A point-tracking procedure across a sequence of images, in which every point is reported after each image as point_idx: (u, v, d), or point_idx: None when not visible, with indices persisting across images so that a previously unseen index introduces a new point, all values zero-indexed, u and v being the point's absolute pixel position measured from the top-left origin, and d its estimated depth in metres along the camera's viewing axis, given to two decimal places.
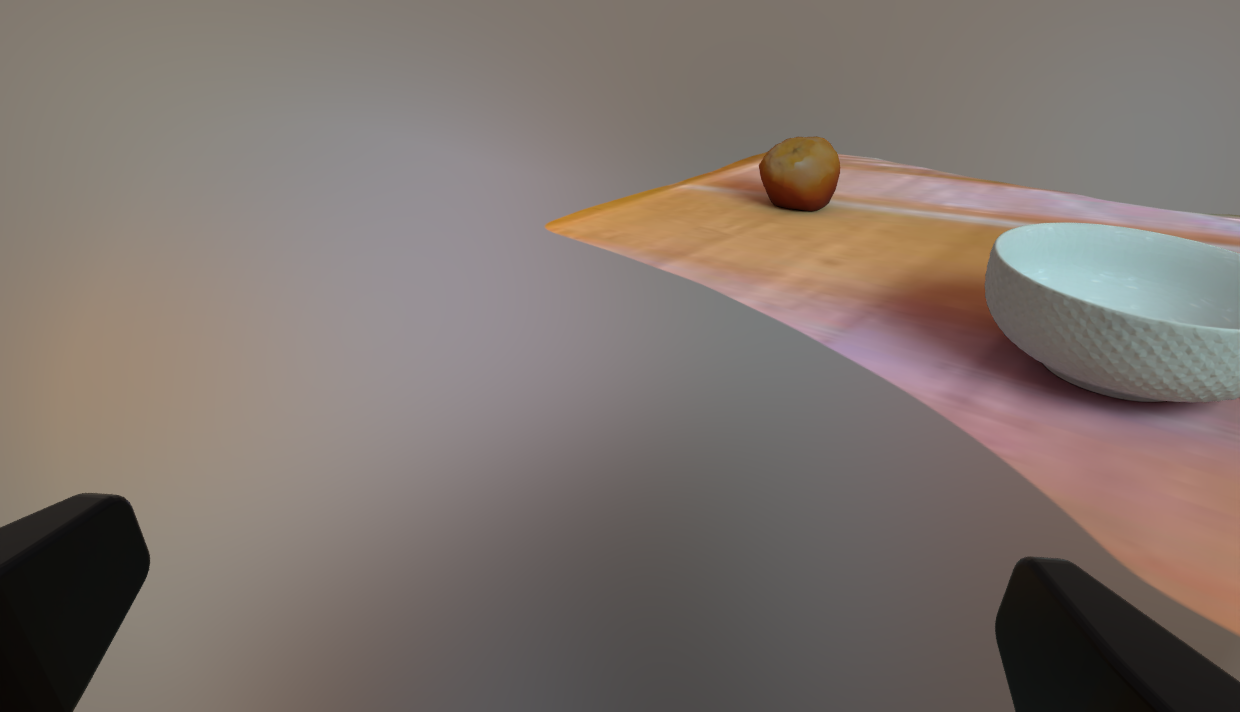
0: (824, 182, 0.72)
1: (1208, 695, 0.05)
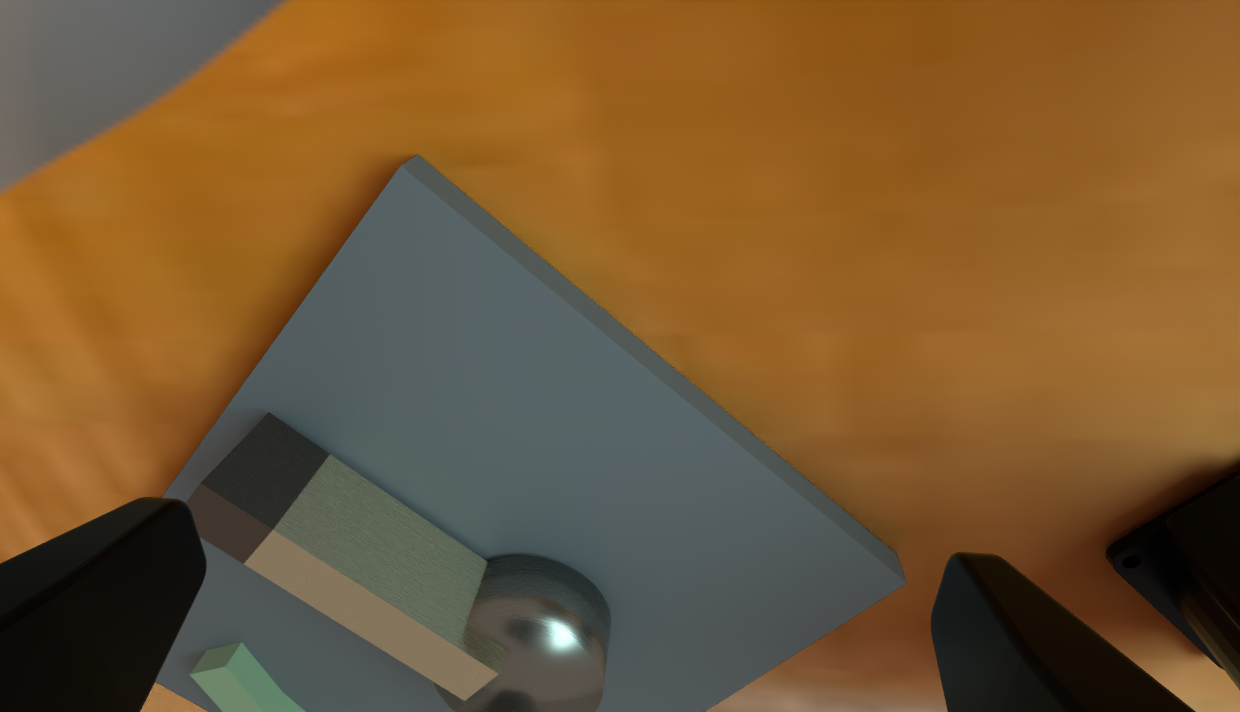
0: None
1: (1116, 688, 0.05)
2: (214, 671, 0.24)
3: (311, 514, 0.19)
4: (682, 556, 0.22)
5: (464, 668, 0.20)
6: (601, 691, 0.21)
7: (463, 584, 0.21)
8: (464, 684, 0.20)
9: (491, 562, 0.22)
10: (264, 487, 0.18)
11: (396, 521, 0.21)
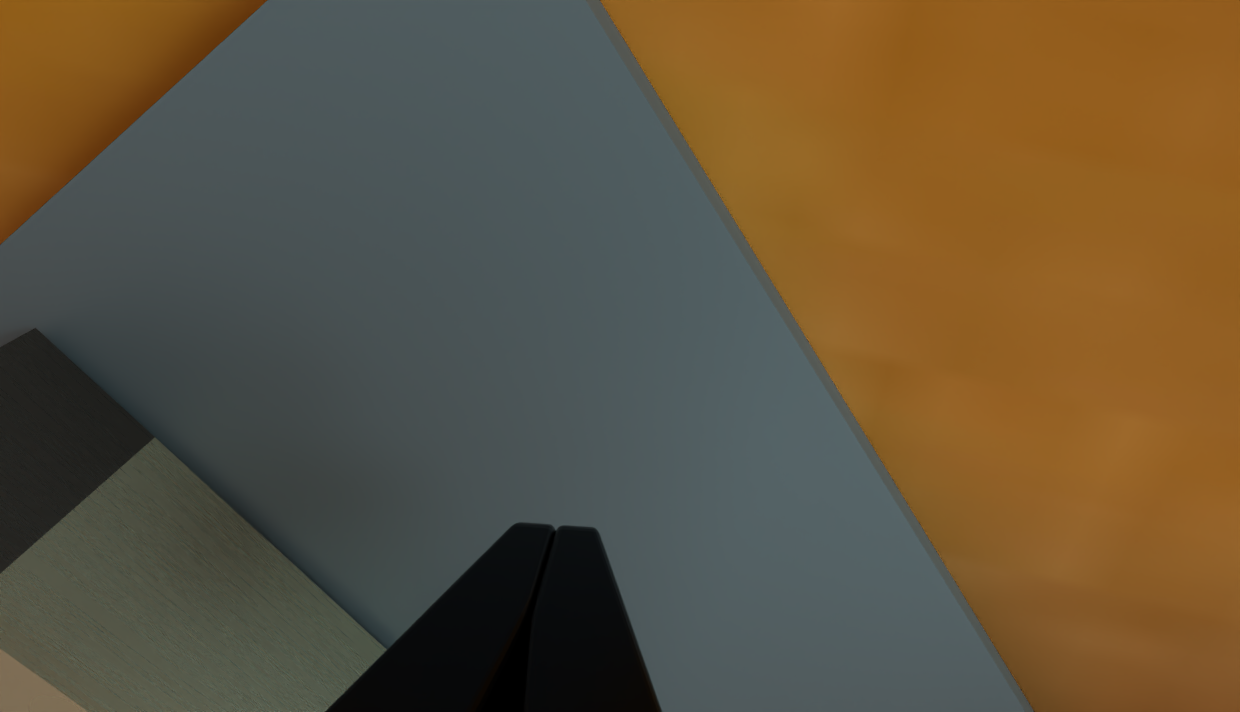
0: None
1: (587, 647, 0.05)
2: None
3: (72, 575, 0.08)
4: None
5: None
6: None
7: None
8: None
9: None
10: None
11: (263, 593, 0.10)
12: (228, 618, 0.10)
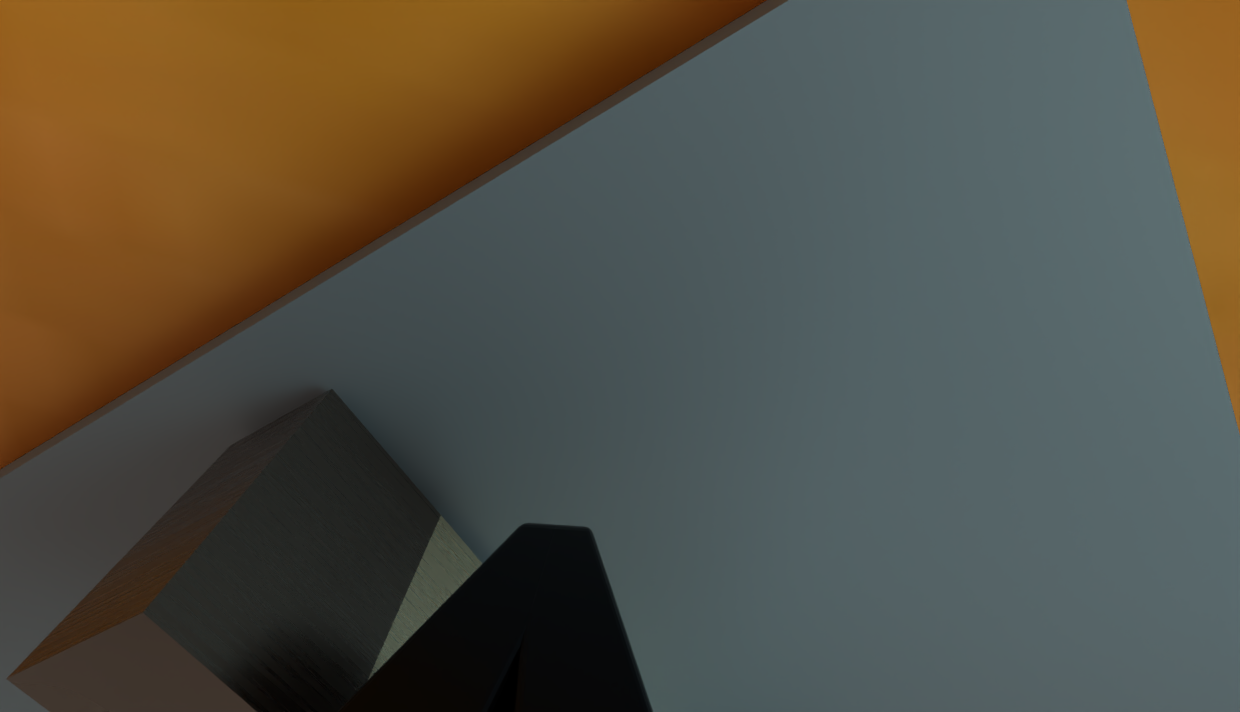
0: None
1: (578, 647, 0.05)
2: None
3: None
4: None
5: None
6: None
7: None
8: None
9: None
10: (312, 618, 0.06)
11: None
12: None
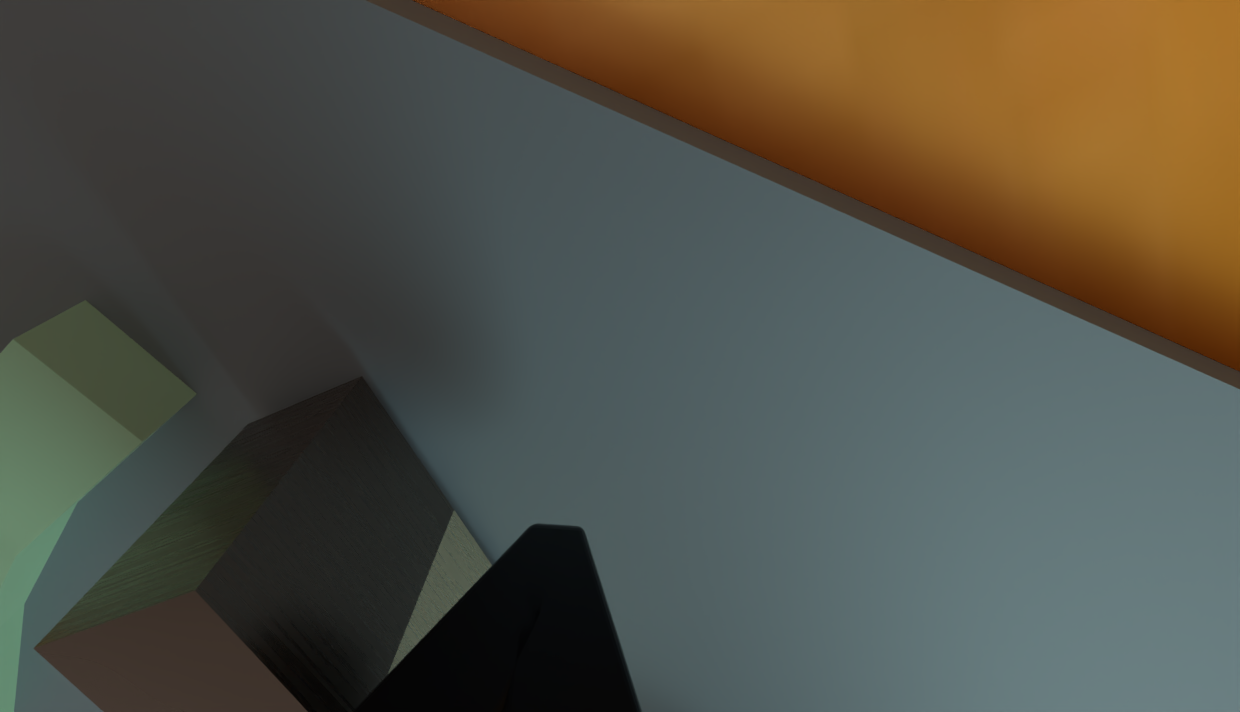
0: None
1: (568, 646, 0.05)
2: (95, 413, 0.07)
3: None
4: None
5: None
6: None
7: None
8: None
9: None
10: (342, 604, 0.06)
11: None
12: None
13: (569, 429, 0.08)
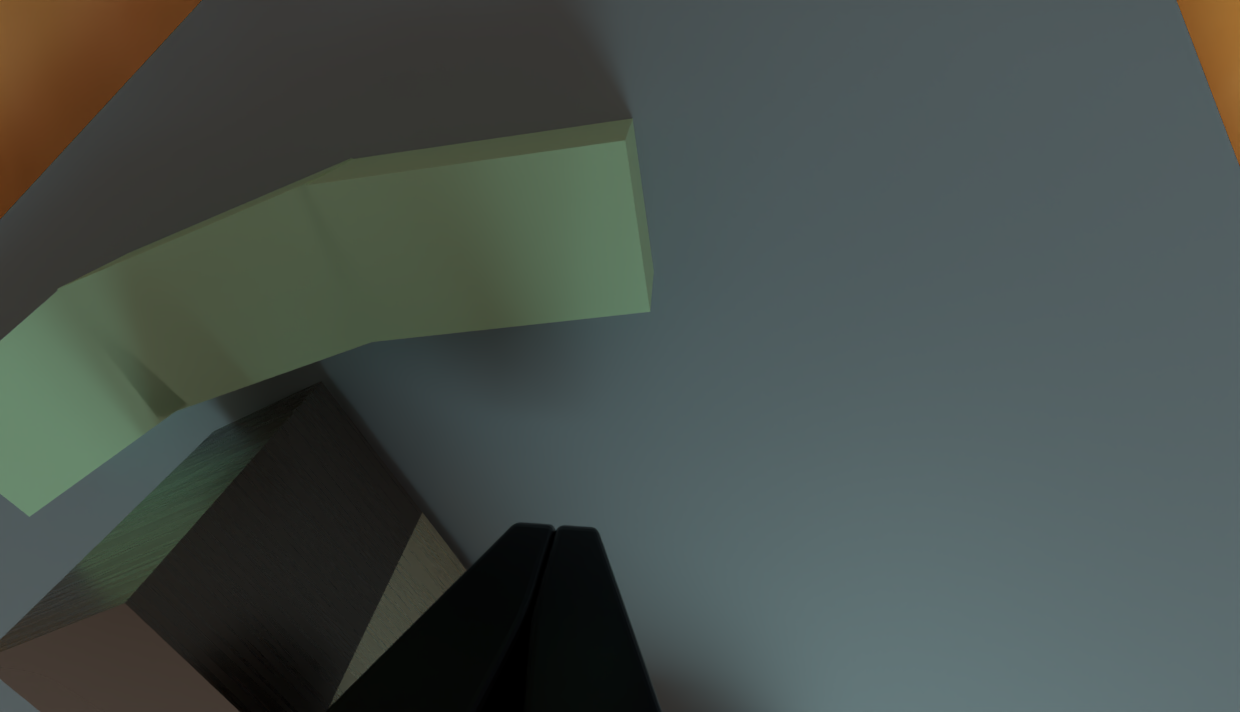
0: None
1: (586, 647, 0.05)
2: (630, 259, 0.06)
3: None
4: None
5: None
6: None
7: None
8: None
9: None
10: (292, 612, 0.06)
11: None
12: None
13: (963, 487, 0.08)
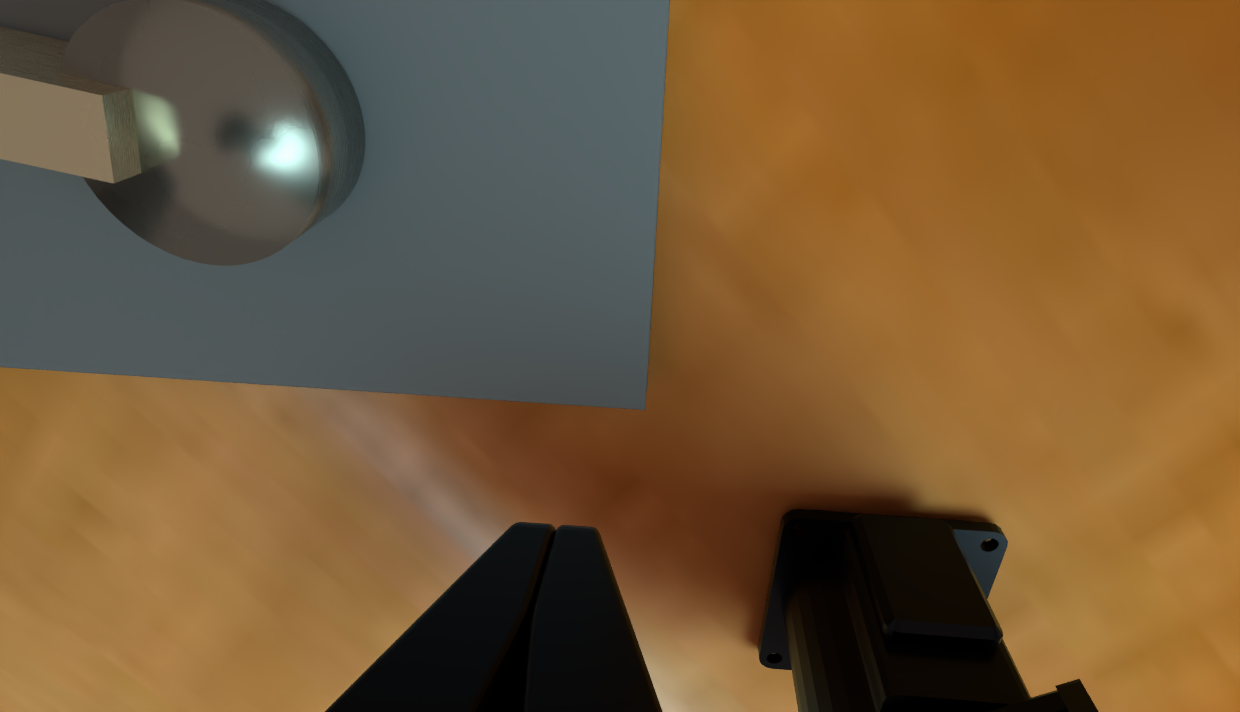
0: None
1: (586, 647, 0.05)
2: None
3: None
4: (485, 205, 0.17)
5: (62, 114, 0.13)
6: (288, 85, 0.13)
7: None
8: (88, 149, 0.13)
9: None
10: None
11: None
12: None
13: None
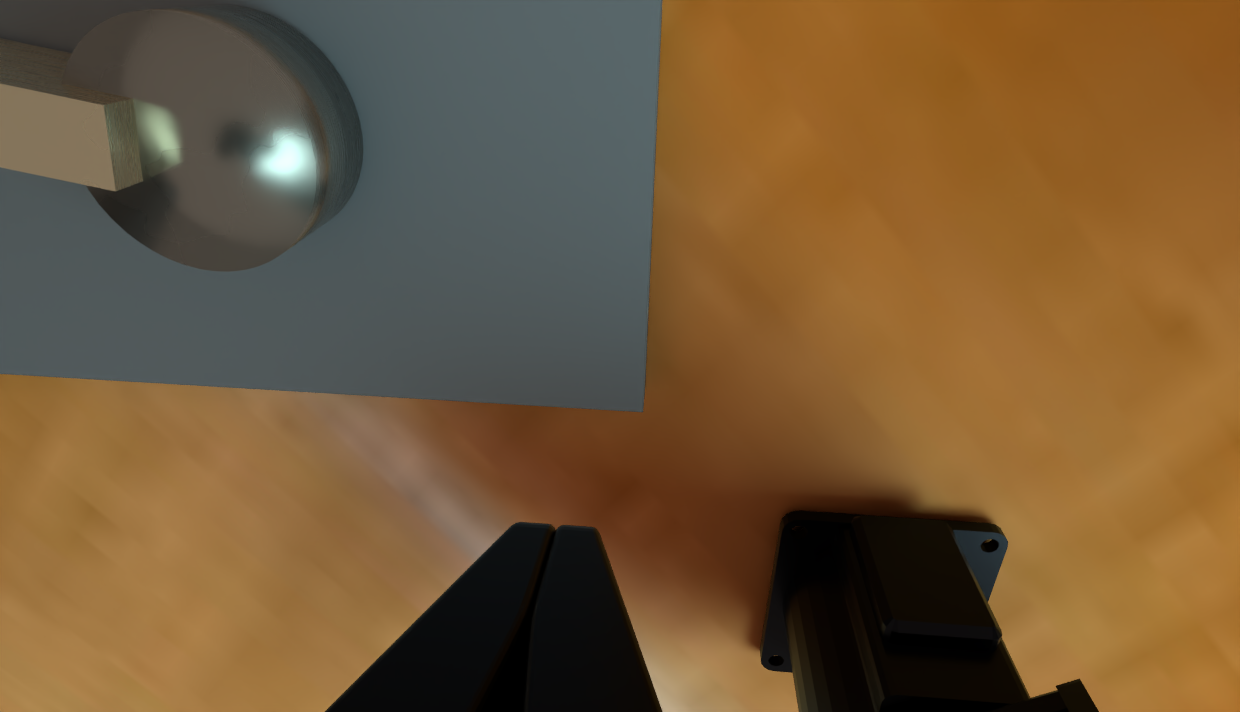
0: None
1: (586, 647, 0.05)
2: None
3: None
4: (482, 210, 0.17)
5: (65, 124, 0.13)
6: (285, 93, 0.14)
7: None
8: (90, 158, 0.14)
9: None
10: None
11: None
12: None
13: None
